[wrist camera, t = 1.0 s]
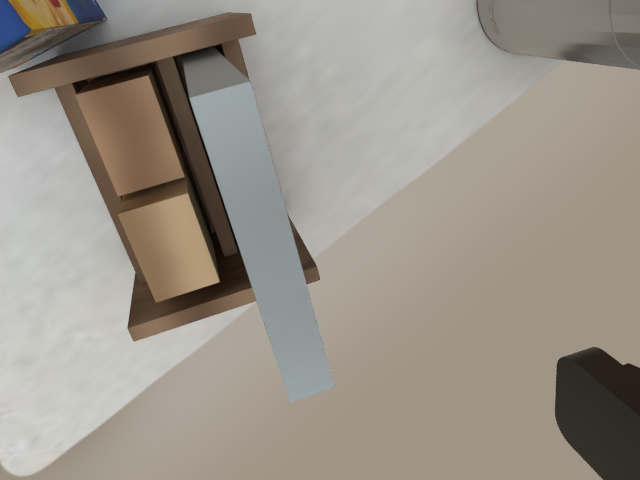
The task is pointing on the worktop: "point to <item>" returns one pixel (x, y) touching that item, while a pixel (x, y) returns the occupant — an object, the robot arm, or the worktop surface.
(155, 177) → the offcut
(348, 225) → the worktop surface
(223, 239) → the rack
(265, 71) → the worktop surface
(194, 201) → the offcut
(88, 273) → the worktop surface
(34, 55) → the beverage box
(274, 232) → the sheet
